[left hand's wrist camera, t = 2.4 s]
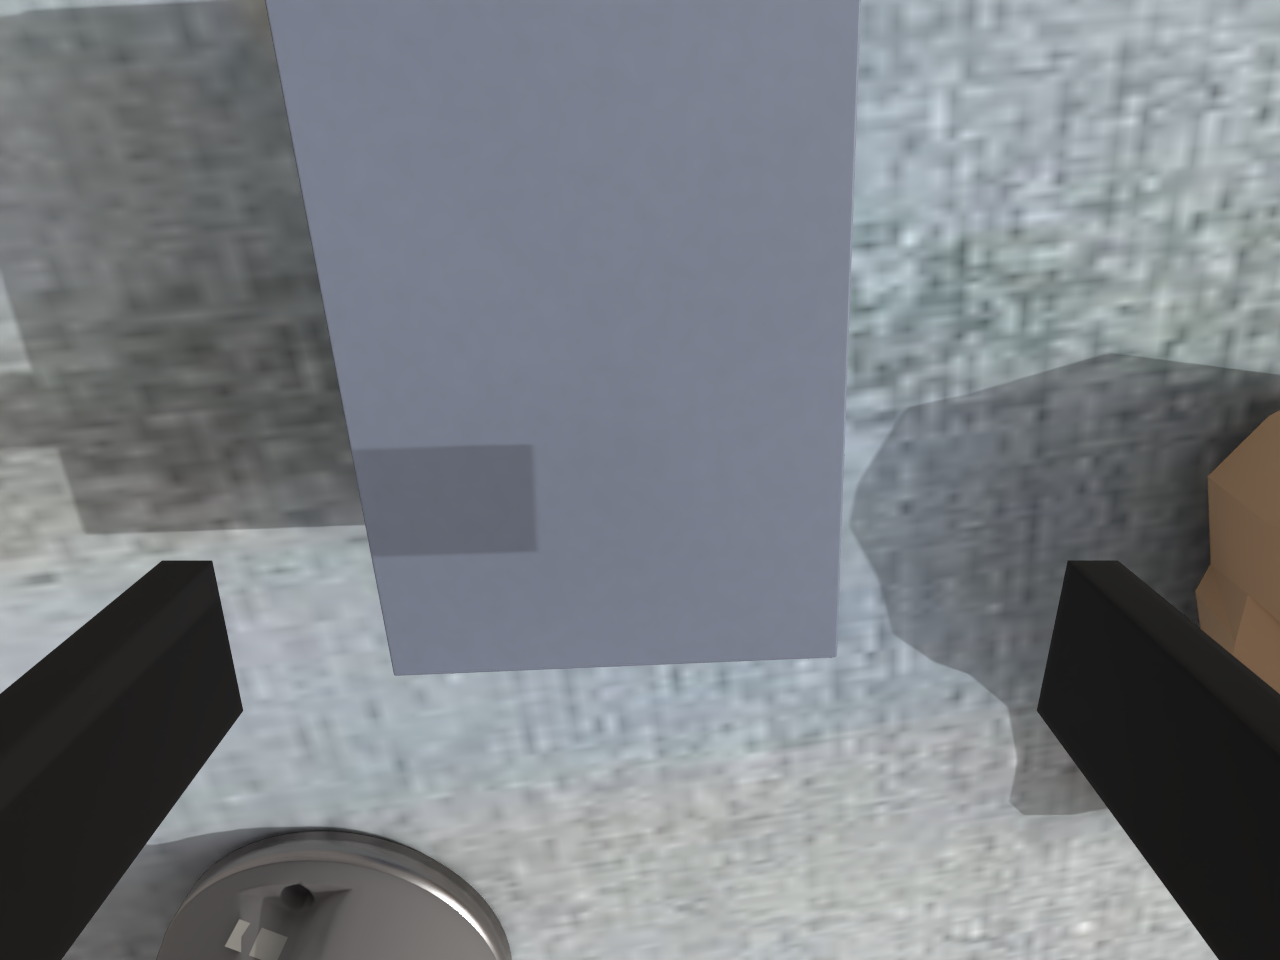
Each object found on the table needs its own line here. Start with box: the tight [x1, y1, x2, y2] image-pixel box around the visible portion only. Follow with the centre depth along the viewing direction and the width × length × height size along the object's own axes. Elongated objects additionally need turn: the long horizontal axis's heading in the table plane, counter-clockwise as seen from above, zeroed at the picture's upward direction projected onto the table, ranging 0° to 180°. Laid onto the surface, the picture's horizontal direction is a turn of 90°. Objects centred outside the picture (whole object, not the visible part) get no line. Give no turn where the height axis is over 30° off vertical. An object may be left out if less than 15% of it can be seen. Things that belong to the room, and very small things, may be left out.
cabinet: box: [265, 0, 861, 676], centre depth 22 cm, size 17×11×10 cm
